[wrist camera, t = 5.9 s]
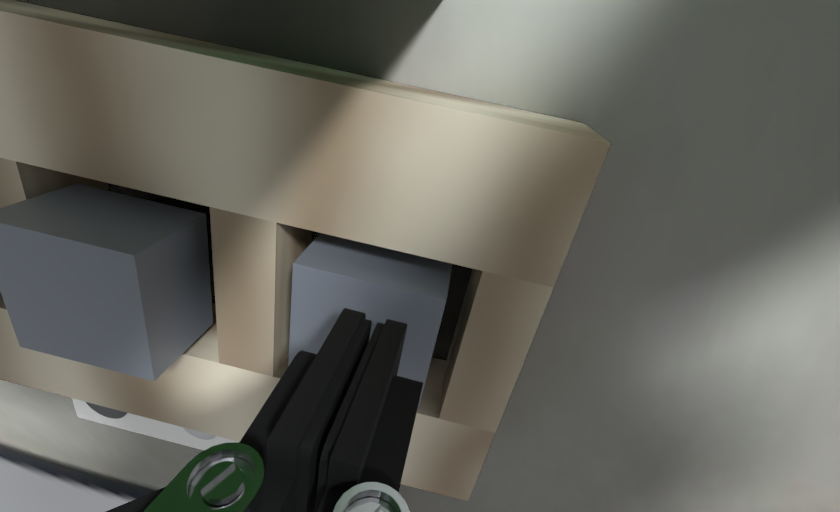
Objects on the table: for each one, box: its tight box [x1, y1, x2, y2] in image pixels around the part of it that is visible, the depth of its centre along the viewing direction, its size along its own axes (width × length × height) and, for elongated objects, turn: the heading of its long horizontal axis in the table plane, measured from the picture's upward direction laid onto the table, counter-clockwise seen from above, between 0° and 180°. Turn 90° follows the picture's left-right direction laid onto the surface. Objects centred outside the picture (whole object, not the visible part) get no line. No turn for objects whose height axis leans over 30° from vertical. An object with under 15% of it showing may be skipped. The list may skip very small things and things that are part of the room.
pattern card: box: [72, 398, 239, 450], centre depth 21 cm, size 14×4×1 cm, turn 79°
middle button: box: [0, 184, 213, 381], centre depth 13 cm, size 4×4×3 cm
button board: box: [0, 0, 611, 502], centre depth 15 cm, size 26×14×3 cm, turn 79°
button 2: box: [288, 233, 452, 411], centre depth 14 cm, size 4×4×3 cm
